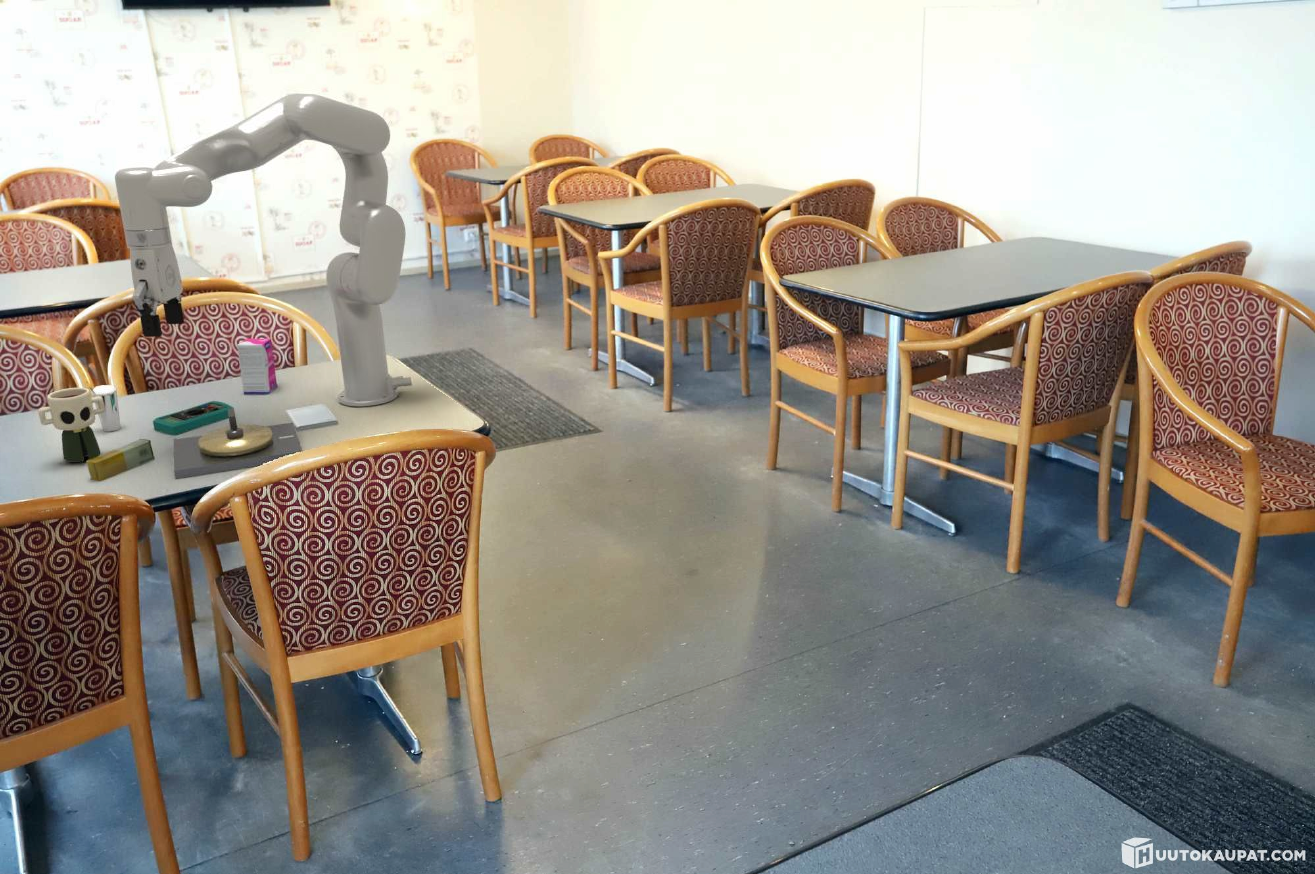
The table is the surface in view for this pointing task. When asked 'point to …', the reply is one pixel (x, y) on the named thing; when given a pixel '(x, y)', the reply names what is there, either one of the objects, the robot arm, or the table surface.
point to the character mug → (74, 421)
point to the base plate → (198, 463)
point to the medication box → (120, 460)
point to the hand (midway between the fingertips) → (164, 330)
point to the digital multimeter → (192, 418)
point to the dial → (235, 439)
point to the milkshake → (108, 407)
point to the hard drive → (311, 417)
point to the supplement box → (257, 366)
